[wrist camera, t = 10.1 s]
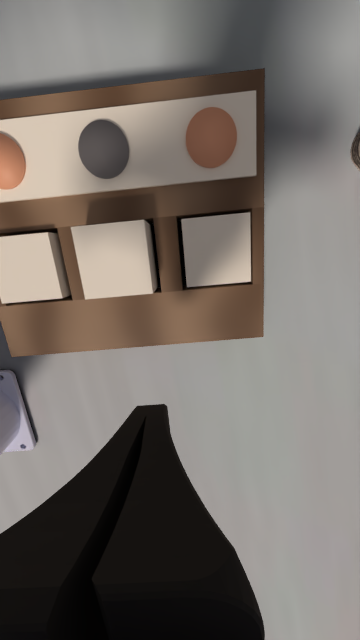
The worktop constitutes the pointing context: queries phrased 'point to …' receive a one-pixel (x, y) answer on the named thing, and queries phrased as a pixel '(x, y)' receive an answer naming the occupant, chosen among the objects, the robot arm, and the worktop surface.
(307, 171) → the worktop surface
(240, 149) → the pattern card
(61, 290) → the key
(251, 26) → the worktop surface
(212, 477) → the worktop surface
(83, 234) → the key
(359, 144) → the lighter
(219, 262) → the key
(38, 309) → the button board
